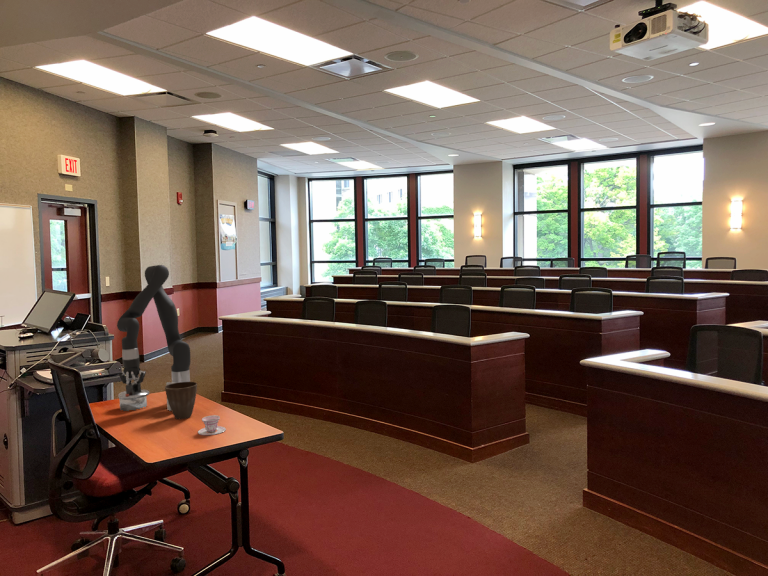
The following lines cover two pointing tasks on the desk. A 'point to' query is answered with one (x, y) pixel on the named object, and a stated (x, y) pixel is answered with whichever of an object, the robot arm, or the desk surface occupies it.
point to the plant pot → (181, 398)
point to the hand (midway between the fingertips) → (133, 391)
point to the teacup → (211, 426)
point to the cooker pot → (132, 403)
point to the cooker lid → (133, 392)
